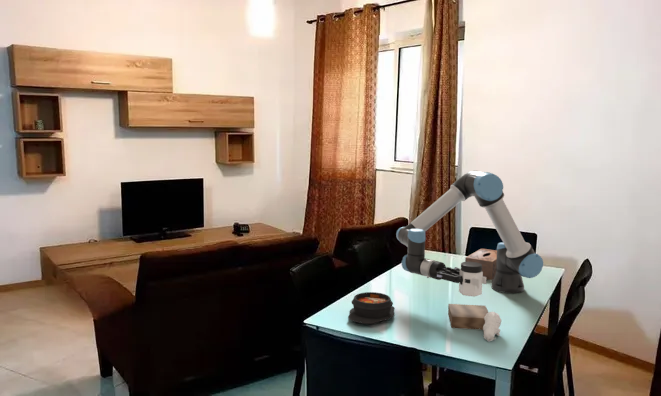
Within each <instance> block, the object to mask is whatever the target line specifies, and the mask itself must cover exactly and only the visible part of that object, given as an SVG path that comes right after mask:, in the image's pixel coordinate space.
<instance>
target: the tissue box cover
mask: <svg viewBox="0 0 661 396" xmlns="http://www.w3.org/2000/svg"><path fill="white" fill-rule="evenodd" d="M496 259H497V249H495V250H494V249H487V248H480V249H478V250H476V251H475V252H473V253H471V254H469V255H468V256H466V257H465V259H464V260H465V261H464V262H477V263H480V264H482V272H483V277H486V280H490V281H492V280H493V278H494V275H495V273H496Z"/></svg>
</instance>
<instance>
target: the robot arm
mask: <svg viewBox="0 0 661 396" xmlns="http://www.w3.org/2000/svg"><path fill="white" fill-rule="evenodd" d="M471 197H474V198H475V201H476V202H477V204H478V205H479V207H480V208H484V209H485V211H486V213H487V215H488V217H489V218H490V220H491V222H492V224H493V226H494V229H495V230H496V231H497V234H498V236H499V237H500V239H501V241H502V242H498V243H497V246H496V251H497V259H496V273H495V275H494V278H493V279H492V280H491V289H493V290H494V291H496V292H500V293H504V294H520V293H523V292H524V291H525V284H524V280H523V278H526V279H533V278H536V277H537V276H539V274H541V272H542V269H543V267H544V260H543V257H542V256H540V255H539V253H536V252H535V250H534V249H533V246H532V245H531V244H530V242H526V241H525V239H524V237H523V235H522V233H521V231H520V229H519V228H518V225H517V224H516V222H515V220H514V218H513V216H512V214H511V213H510V210H509V208H508V207H507V205H506V202H505V201H504V197H505V193H504V183H503V181H502V179H501V178H500V177H499V176H498V175H496V174H494V173H493V172H488V171H486V172H485V171H480V170H471V171H468V172H466V173H465V174H463V175H462V176H460V177H459V178H457V180H455V181H454V182H453V183H452V184H451V185H450V188H449V189H448V190H447V191H446V192H445V193H444V194H442V195H441V196H440V197H438V199H436V200H435V201H434V202H433V203H432V204H430V206H427V208H426V209H424V210H423V212H421V214H419V215H418V216H417V217H416V218H414V219H413V220H412V221H411V222H410V223H409V224H408V225H406V226H402V227H399V228H398V229H397V230H396V233H395V235H396V236H395V237H396V239H397V240H398V241H399V243H401V244H402V245H404V246H406V247H407V254H405V255H404V256H403V257H402V260H401V267H402V269H403V270H404V271H405V272H408V273H411V274H415V275H420V276H424V277H426V279H434V280H437V281H440V280H444V281H448V282H451V283H456V284H459V282H460V284H461V285H462V282H463V277H462V276H461V275H460V269H461V268H460V267H457V266H455V267H454V268H452V267H450V266H449V267H448V266H446V264H445V262H442V261H438V260H434V259H430V258H425V255H426V252H425V251H426V232H427V231H428V230H429V229H430V228H431V227H432V226H434V225H435V224H436V223H438V221H440V219H442V218H443V217H444V216H445V215H447V214H448V213H449V212H450V211H452V210H453V209H454V208H455V207H456V206H457V205H459V203H461V202H465V201H466V200H468V199H469V198H471ZM465 280H466V281H465V283H470V280H469V279H465ZM472 285H474V286H479V279H474V278H472ZM482 285H487V279H486V277H482Z"/></svg>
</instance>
